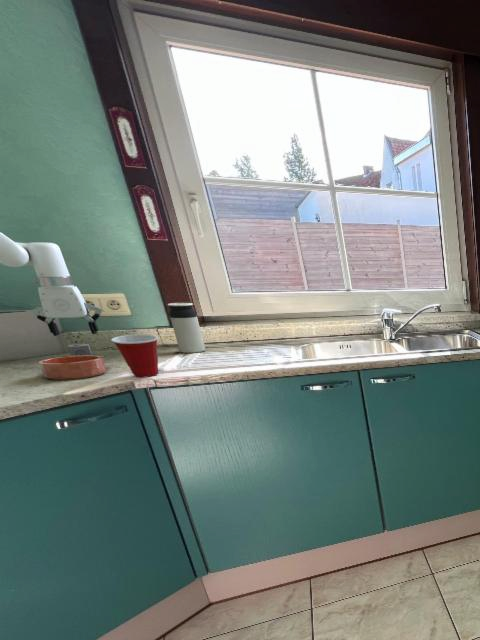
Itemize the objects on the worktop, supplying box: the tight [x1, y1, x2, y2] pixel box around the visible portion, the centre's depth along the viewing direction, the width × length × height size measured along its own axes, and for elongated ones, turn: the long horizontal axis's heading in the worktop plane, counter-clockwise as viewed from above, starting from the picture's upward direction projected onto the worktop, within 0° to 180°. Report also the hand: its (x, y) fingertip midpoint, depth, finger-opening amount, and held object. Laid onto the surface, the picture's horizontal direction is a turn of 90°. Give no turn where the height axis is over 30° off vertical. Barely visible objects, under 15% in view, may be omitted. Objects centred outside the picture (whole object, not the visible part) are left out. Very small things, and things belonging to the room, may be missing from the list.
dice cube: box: [67, 343, 93, 356], centre depth 172 cm, size 5×5×5 cm
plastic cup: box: [110, 334, 159, 378], centre depth 153 cm, size 11×11×12 cm
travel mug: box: [167, 302, 207, 354], centre depth 188 cm, size 8×8×18 cm
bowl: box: [38, 354, 107, 381], centre depth 151 cm, size 14×14×5 cm
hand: (76, 334), depth 170 cm, fingers open, 9 cm apart
